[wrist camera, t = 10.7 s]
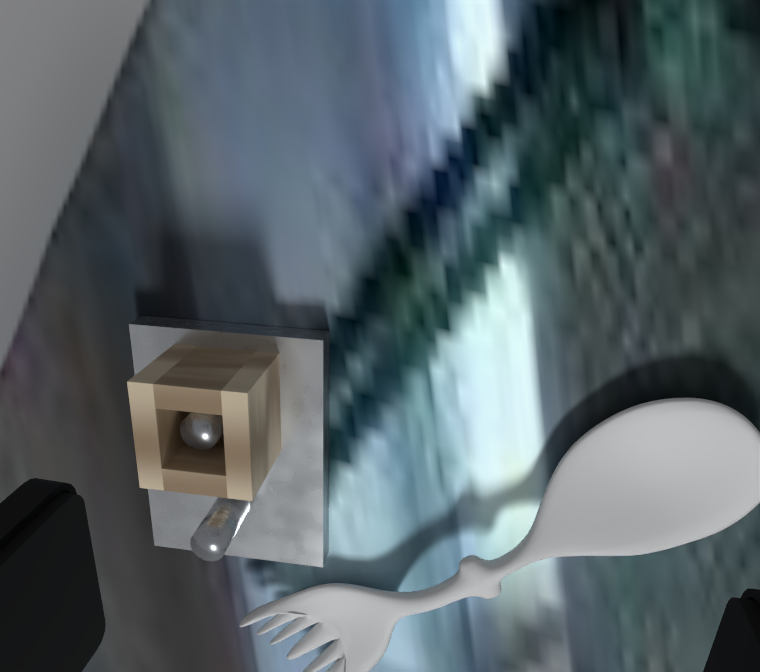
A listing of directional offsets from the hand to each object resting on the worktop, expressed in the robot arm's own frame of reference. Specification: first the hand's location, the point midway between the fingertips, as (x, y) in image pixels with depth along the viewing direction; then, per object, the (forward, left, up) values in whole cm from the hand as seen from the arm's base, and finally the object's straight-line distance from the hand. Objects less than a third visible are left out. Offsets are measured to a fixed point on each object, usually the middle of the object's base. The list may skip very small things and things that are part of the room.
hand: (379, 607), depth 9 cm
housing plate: (+13, -12, -25) cm, 30 cm away
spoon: (+18, +4, -25) cm, 31 cm away
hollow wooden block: (+9, -12, -23) cm, 28 cm away
